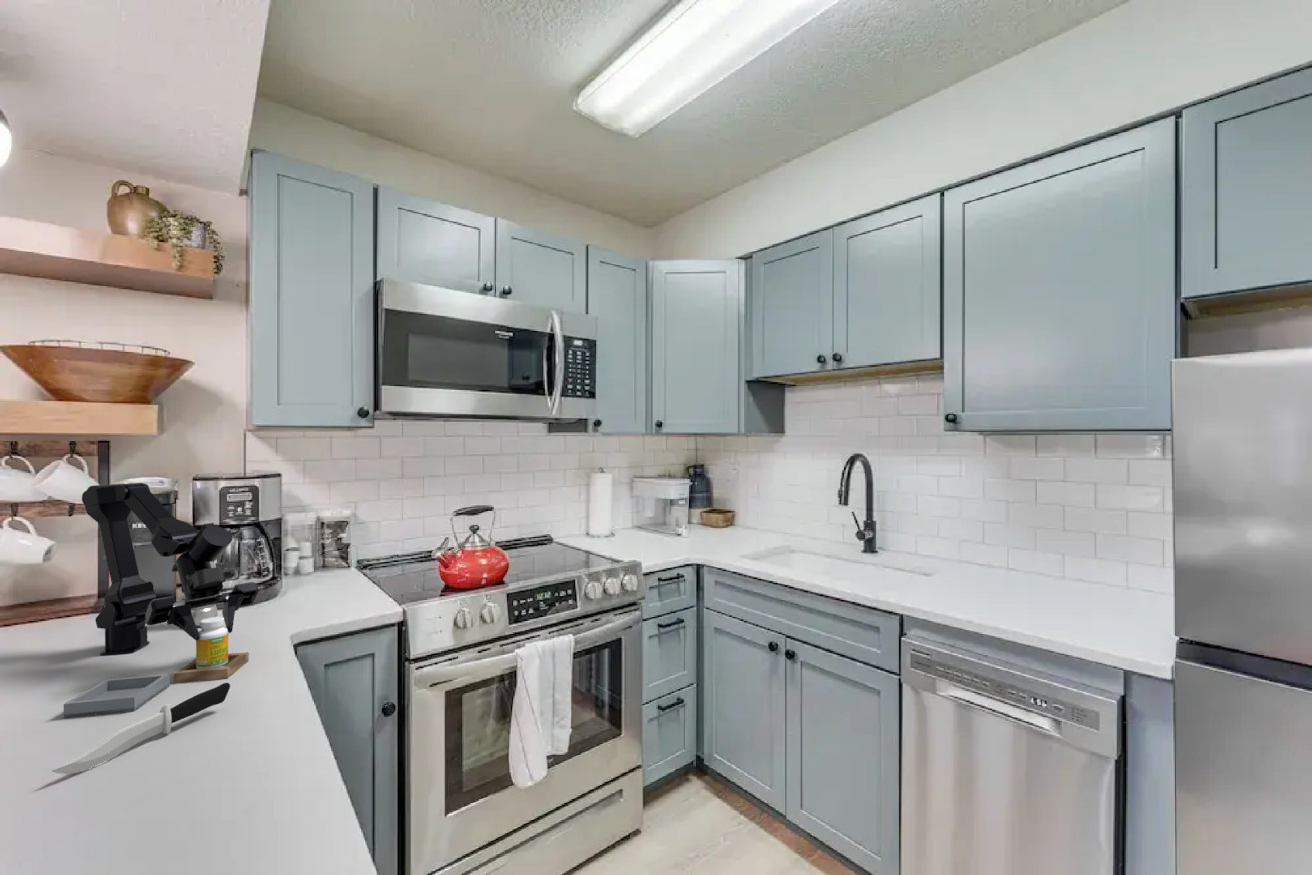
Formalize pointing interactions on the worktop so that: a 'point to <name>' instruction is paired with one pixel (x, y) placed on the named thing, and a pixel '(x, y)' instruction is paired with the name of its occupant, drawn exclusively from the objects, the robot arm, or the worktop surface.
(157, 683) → the tray
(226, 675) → the wooden frame
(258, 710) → the worktop surface
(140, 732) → the knife
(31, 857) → the worktop surface
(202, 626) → the supplement bottle
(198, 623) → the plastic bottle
